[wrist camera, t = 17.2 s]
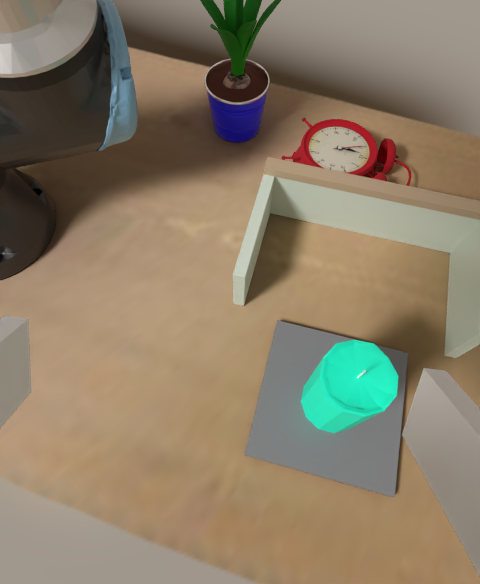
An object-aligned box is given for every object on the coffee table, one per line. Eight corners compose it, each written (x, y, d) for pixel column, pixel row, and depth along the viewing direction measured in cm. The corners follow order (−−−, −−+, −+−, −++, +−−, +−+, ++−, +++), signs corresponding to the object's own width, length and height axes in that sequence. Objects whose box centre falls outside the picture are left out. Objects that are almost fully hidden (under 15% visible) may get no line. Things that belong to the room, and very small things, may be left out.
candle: (365, 433, 40) (413, 413, 29) (302, 433, 40) (327, 413, 29) (357, 371, 42) (399, 331, 31) (298, 371, 42) (320, 332, 31)
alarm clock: (304, 105, 55) (427, 118, 49) (307, 144, 60) (418, 160, 55) (274, 162, 51) (405, 183, 45) (280, 198, 56) (397, 221, 50)
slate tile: (244, 455, 40) (244, 454, 39) (276, 322, 45) (277, 320, 45) (391, 497, 38) (394, 497, 37) (405, 354, 44) (408, 352, 43)
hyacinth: (263, 94, 61) (286, -225, 33) (272, 147, 56) (306, -170, 29) (204, 97, 60) (177, -223, 33) (208, 151, 56) (181, -167, 29)
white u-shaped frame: (233, 303, 46) (232, 269, 39) (263, 202, 52) (267, 156, 45) (455, 358, 44) (499, 332, 37) (460, 245, 50) (498, 204, 43)
